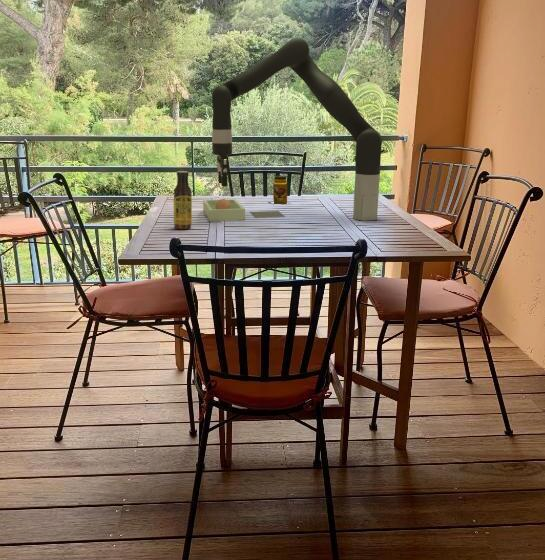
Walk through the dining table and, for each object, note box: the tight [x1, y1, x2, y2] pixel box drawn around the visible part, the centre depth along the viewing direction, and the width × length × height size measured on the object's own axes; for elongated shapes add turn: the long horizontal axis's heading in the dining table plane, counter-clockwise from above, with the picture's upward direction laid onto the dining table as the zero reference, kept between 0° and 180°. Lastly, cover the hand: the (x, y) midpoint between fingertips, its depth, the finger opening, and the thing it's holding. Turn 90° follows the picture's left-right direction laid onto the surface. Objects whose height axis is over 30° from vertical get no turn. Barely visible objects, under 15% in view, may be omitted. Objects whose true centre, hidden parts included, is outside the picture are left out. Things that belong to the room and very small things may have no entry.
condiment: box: [272, 175, 291, 205], centre depth 252 cm, size 7×8×12 cm
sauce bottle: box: [173, 170, 193, 230], centre depth 202 cm, size 6×6×20 cm
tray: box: [202, 198, 246, 223], centre depth 225 cm, size 22×13×4 cm, turn 13°
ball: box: [216, 198, 231, 209], centre depth 225 cm, size 6×6×6 cm
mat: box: [249, 210, 286, 219], centre depth 228 cm, size 12×12×1 cm
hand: (222, 184), depth 222 cm, fingers open, 8 cm apart
